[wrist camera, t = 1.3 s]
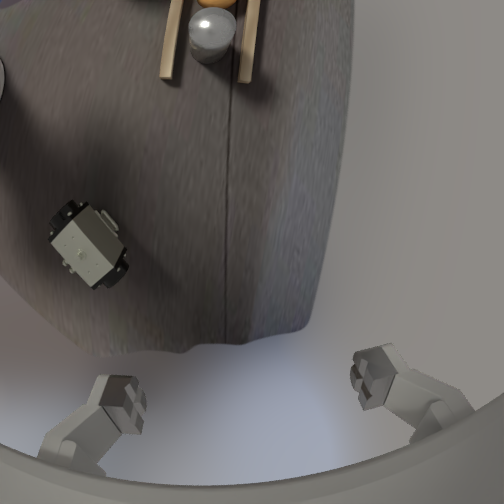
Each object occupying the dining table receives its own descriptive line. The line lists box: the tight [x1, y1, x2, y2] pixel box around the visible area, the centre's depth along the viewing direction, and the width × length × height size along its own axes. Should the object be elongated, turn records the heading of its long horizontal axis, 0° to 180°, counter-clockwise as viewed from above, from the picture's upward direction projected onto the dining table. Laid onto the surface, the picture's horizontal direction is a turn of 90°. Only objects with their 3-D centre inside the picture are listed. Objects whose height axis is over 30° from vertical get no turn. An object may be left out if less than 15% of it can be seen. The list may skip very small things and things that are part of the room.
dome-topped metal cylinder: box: [189, 7, 236, 64], centre depth 27 cm, size 5×5×10 cm
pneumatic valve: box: [48, 200, 129, 290], centre depth 34 cm, size 6×12×12 cm, turn 33°
